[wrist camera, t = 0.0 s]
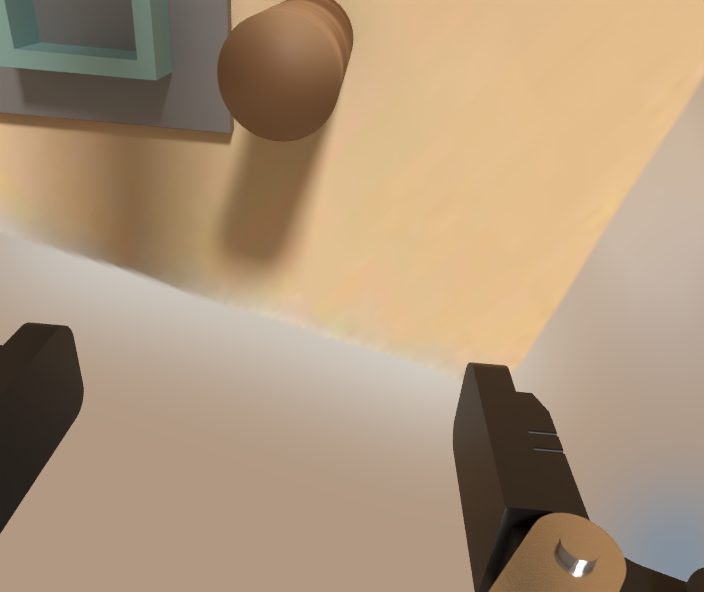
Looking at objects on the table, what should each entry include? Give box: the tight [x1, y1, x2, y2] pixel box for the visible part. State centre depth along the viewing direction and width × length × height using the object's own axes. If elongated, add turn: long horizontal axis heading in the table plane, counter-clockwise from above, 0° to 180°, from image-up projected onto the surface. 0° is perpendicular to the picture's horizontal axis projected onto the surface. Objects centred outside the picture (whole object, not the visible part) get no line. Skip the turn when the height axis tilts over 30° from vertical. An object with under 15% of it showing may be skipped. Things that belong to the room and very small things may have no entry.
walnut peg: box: [217, 0, 353, 141], centre depth 30 cm, size 5×5×14 cm
